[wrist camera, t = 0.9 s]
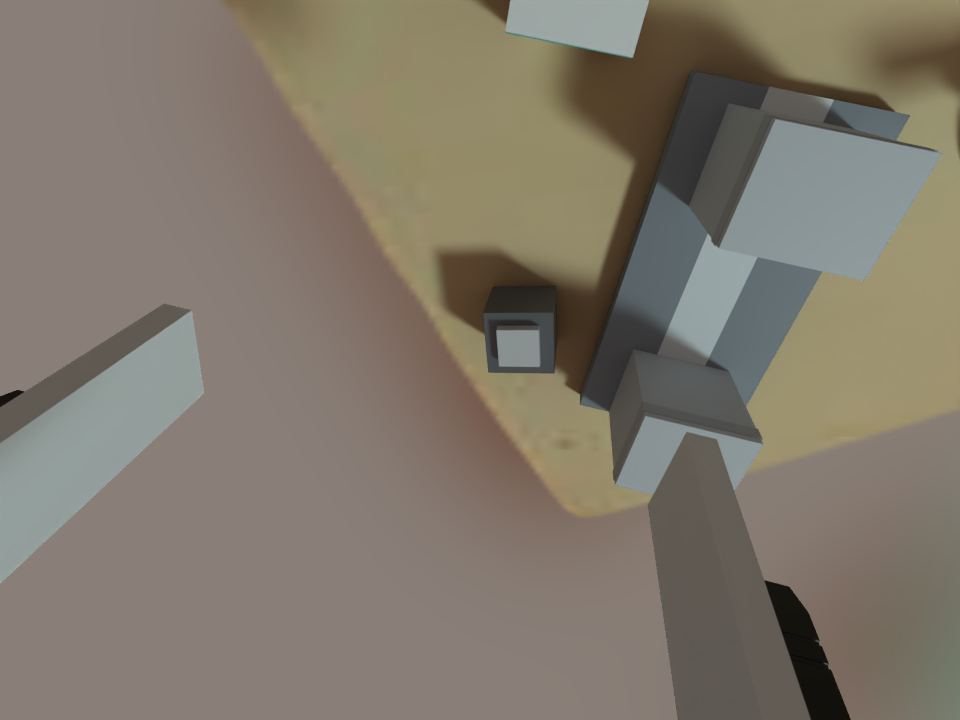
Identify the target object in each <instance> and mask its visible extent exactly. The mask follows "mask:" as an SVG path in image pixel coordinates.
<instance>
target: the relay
mask: <svg viewBox="0 0 960 720" xmlns="http://www.w3.org/2000/svg"><path fill="white" fill-rule="evenodd" d="M483 319H484V330H485V341H486V352H487V363H488V372H492V373H554V371H555V359H556V347H557V308H556V286H518V287H493V288H492V291H491V293H490V296H489V299H488V301H487V304H486V307H485V309H484V312H483Z"/></svg>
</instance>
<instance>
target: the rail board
mask: <svg viewBox="0 0 960 720" xmlns="http://www.w3.org/2000/svg"><path fill="white" fill-rule="evenodd" d="M909 117H910V115H907V114H902V113H897V112H892V111H887V110H882V109H877V108H872V107H867V106H862V105H858V104H853V103H848V102H843V101H838V100H833V99H828V98H823V97H818V96H813V95H808V94H804V93H799V92H794V91H789V90H784V89H779V88H774V87H769V86H764V85H759V84H755V83H750V82H745V81H740V80H735V79H730V78H725V77H720V76H715V75H710V74H705V73H701V72H696V71H691V72H690V75H689V77H688V80H687V83H686V86H685V89H684V92H683V95H682V98H681V101H680V104H679V107H678V110H677V113H676V115H675V118H674V121H673V124H672V127H671V130H670V133H669V136H668V139H667V142H666V145H665V148H664V151H663V153H662V156H661V159H660V162H659V165H658V168H657V171H656V174H655V177H654V180H653V183H652V186H651V189H650V192H649V194H648V197H647V200H646V203H645V206H644V209H643V212H642V215H641V218H640V221H639V224H638V227H637V230H636V232H635V235H634V238H633V241H632V244H631V247H630V250H629V253H628V256H627V259H626V262H625V265H624V268H623V270H622V273H621V276H620V279H619V282H618V285H617V288H616V291H615V294H614V297H613V300H612V303H611V306H610V308H609V311H608V314H607V317H606V320H605V323H604V326H603V329H602V332H601V335H600V338H599V341H598V344H597V346H596V349H595V352H594V355H593V358H592V361H591V364H590V367H589V370H588V373H587V376H586V379H585V382H584V384H583V387H582V390H581V393H580V405H584V406H588V407H592V408H596V409H600V410H604V411H609V417H610V429H611V441H612V453H613V465H614V469H613V480H614V481H615V485H616V486H620V487H624V488H628V489H632V490H636V491H640V492H644V493H648V494H654V492H655V491H656V489H657V487H658V485H659V483H660V481H661V479H662V477H663V475H664V473H665V472H666V470H667V468H668V466H669V464H670V462H671V460H672V458H673V456H674V454H675V453H676V451H677V449H678V447H679V445H680V443H681V441H682V439H683V437H684V435H685V434H686V432H690V433H694V434H698V435H702V436H706V437H710V438H714V439H717V441H718V444H719V447H720V450H721V453H722V456H723V459H724V462H725V465H726V468H727V471H728V474H729V477H730V480H731V483H732V486H733V489H734V491H735V489H736V488H737V486H738V484H739V483H740V481H741V480H742V478H743V476H744V475H745V473H746V472H747V470H748V468H749V467H750V465H751V464H752V462H753V460H754V459H755V457H756V455H757V454H758V452H759V451H760V449H761V447H762V446H763V442H762V437H761V435H760V432H759V430H758V429H756V427H755V425H754V423H753V421H752V419H751V417H750V415H749V413H748V410H747V408H746V406H747V404H748V402H749V400H750V399H751V397H752V395H753V393H754V391H755V390H756V388H757V386H758V384H759V383H760V381H761V379H762V377H763V375H764V374H765V372H766V370H767V368H768V367H769V365H770V363H771V361H772V360H773V358H774V356H775V354H776V352H777V351H778V349H779V347H780V345H781V344H782V342H783V340H784V338H785V336H786V335H787V333H788V331H789V329H790V328H791V326H792V324H793V322H794V320H795V319H796V317H797V315H798V313H799V312H800V310H801V308H802V306H803V305H804V303H805V301H806V299H807V297H808V296H809V294H810V292H811V290H812V289H813V287H814V285H815V283H816V281H817V280H818V278H819V276H820V274H821V273H822V271H823V272H827V273H832V274H836V275H841V276H845V277H850V278H854V279H859V280H863V281H864V280H865V279H866V277H867V276H868V274H869V272H870V271H871V269H872V267H873V266H874V264H875V263H876V261H877V259H878V258H879V256H880V254H881V253H882V251H883V250H884V248H885V246H886V245H887V243H888V241H889V240H890V238H891V237H892V235H893V233H894V232H895V230H896V228H897V227H898V225H899V224H900V222H901V220H902V219H903V217H904V216H905V214H906V212H907V211H908V209H909V207H910V206H911V204H912V203H913V201H914V199H915V198H916V196H917V194H918V193H919V191H920V190H921V188H922V186H923V185H924V183H925V181H926V180H927V178H928V177H929V175H930V173H931V172H932V170H933V169H934V167H935V165H936V164H937V162H938V160H939V159H940V157H941V156H942V153H939V152H938V150H934V149H930V148H927V147H922V146H917V145H912V144H908V143H903V142H899V141H896V140H897V138H898V136H899V134H900V132H901V131H902V129H903V127H904V125H905V124H906V122H907V120H908V118H909Z"/></svg>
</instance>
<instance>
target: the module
mask: <svg viewBox="0 0 960 720" xmlns="http://www.w3.org/2000/svg"><path fill="white" fill-rule="evenodd" d="M648 3H649V0H510V6H509V12H508V18H507V24H506V30H505V33H509V34H514V35H519V36H523V37H528V38H533V39H538V40H542V41H547V42H552V43H557V44H562V45H567V46H572V47H577V48H582V49H587V50H591V51H596V52H601V53H606V54H611V55H616V56H621V57H627V58H633V55H634V52H635V48H636V45H637V41H638V38H639V34H640V31H641V27H642V24H643V20H644V17H645V13H646V10H647V6H648Z"/></svg>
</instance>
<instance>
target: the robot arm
mask: <svg viewBox="0 0 960 720" xmlns="http://www.w3.org/2000/svg"><path fill="white" fill-rule="evenodd" d="M203 393H204V389H203V382H202V376H201V369H200V363H199V356H198V349H197V342H196V336H195V329H194V324H193V316H192V310H188V309H184V308H180V307H176V306H172V305H168V304H163V305H161V306H160V307H158V308H157V309H155V310H153V311H152V312H150V313H149V314H147V315H146V316H144V317H142V318H141V319H139V320H138V321H136V322H135V323H133V324H131V325H130V326H128V327H127V328H125V329H123V330H122V331H120V332H119V333H117V334H116V335H114V336H112V337H111V338H109V339H108V340H106V341H104V342H103V343H101V344H100V345H98V346H96V347H95V348H93V349H92V350H90V351H89V352H87V353H86V354H84V355H82V356H81V357H79V358H77V359H76V360H74V361H73V362H71V363H70V364H68V365H66V366H65V367H63V368H62V369H60V370H58V371H57V372H56V373H54V374H52V375H51V376H49V377H47V378H46V379H44V380H43V381H41V382H40V383H38V384H36V385H35V386H33V387H32V388H30V389H28V390H27V391H25V392H24V391H20V390H16V391H13V392H11V393H8V394H5V395H3V396H0V583H1V582H2V581H3V580H4V579H6V577H8V576H9V575H10V574H11V573H12V572H13V571H14V570H15V569H16V568H17V567H18V566H19V565H21V563H23V562H24V561H25V560H26V559H27V558H28V557H29V556H30V555H31V554H32V553H33V552H34V551H35V550H37V549H38V548H39V547H40V546H41V545H42V544H43V543H44V542H45V541H46V540H47V539H48V538H49V537H50V536H51V535H53V534H54V533H55V532H56V531H57V530H58V529H59V528H60V527H61V526H62V525H63V524H64V523H65V522H67V520H69V519H70V518H71V517H72V516H73V515H74V514H75V513H76V512H77V511H78V510H79V509H80V508H81V507H82V506H84V504H86V503H87V502H88V501H89V500H90V499H91V498H92V497H93V496H94V495H95V494H97V493H98V492H99V491H100V490H101V489H102V488H103V487H104V486H105V485H106V484H107V483H108V482H109V481H110V480H111V479H113V478H114V477H115V476H116V475H117V474H118V473H119V472H120V471H121V470H122V469H123V468H124V467H125V466H126V465H128V464H129V463H130V462H131V461H132V460H133V459H134V458H135V457H136V456H137V455H138V454H139V453H140V452H141V451H142V450H144V449H145V448H146V447H147V446H148V445H149V444H150V443H151V442H152V441H153V440H154V439H155V438H156V437H158V436H159V435H160V433H162V432H163V431H164V430H165V429H166V428H167V427H168V426H169V425H170V424H171V423H172V422H174V421H175V420H176V419H177V418H178V417H179V416H180V415H181V414H182V413H183V412H184V411H185V410H186V409H187V408H189V406H191V405H192V404H193V403H194V402H195V401H196V400H197V399H198V398H199V397H200V396H201V395H202V394H203ZM648 509H649V517H650V523H651V531H652V538H653V545H654V553H655V560H656V566H657V574H658V581H659V588H660V595H661V602H662V610H663V617H664V623H665V631H666V638H667V645H668V653H669V660H670V666H671V674H672V681H673V688H674V696H675V702H676V710H677V717H678V720H851V719H850V717H849V714H848V712H847V709H846V706H845V704H844V701H843V699H842V696H841V694H840V691H839V689H838V686H837V684H836V681H835V678H834V676H833V673H832V671H831V670H829V669H828V665H829V663H828V661H827V658H826V656H825V653H824V651H823V648H822V646H820V645H819V638H818V636H817V633H816V630H815V628H814V625H813V623H812V620H811V618H810V615H809V613H808V612H807V610H806V609H805V607H804V606H803V605H802V603H801V602H800V601H799V600H798V598H797V597H796V595H795V594H794V593H793V591H792V590H791V589H790V587H788V586H784V585H780V584H777V583H773V582H769V581H765V580H764V578H763V576H762V573H761V570H760V567H759V564H758V561H757V558H756V555H755V552H754V549H753V546H752V543H751V540H750V537H749V534H748V531H747V528H746V525H745V522H744V519H743V516H742V513H741V510H740V507H739V504H738V501H737V498H736V495H735V492H734V489H733V486H732V483H731V480H730V477H729V474H728V471H727V468H726V465H725V462H724V459H723V456H722V453H721V450H720V447H719V444H718V441H717V439H714V438H710V437H706V436H702V435H698V434H694V433H690V432H686V434H685V435H684V437H683V439H682V441H681V443H680V445H679V447H678V449H677V451H676V453H675V454H674V456H673V458H672V460H671V462H670V464H669V466H668V468H667V470H666V472H665V473H664V475H663V477H662V479H661V481H660V483H659V485H658V487H657V489H656V491H655V492H654V494H653V496H652V498H651V500H650V502H649V504H648Z"/></svg>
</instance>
